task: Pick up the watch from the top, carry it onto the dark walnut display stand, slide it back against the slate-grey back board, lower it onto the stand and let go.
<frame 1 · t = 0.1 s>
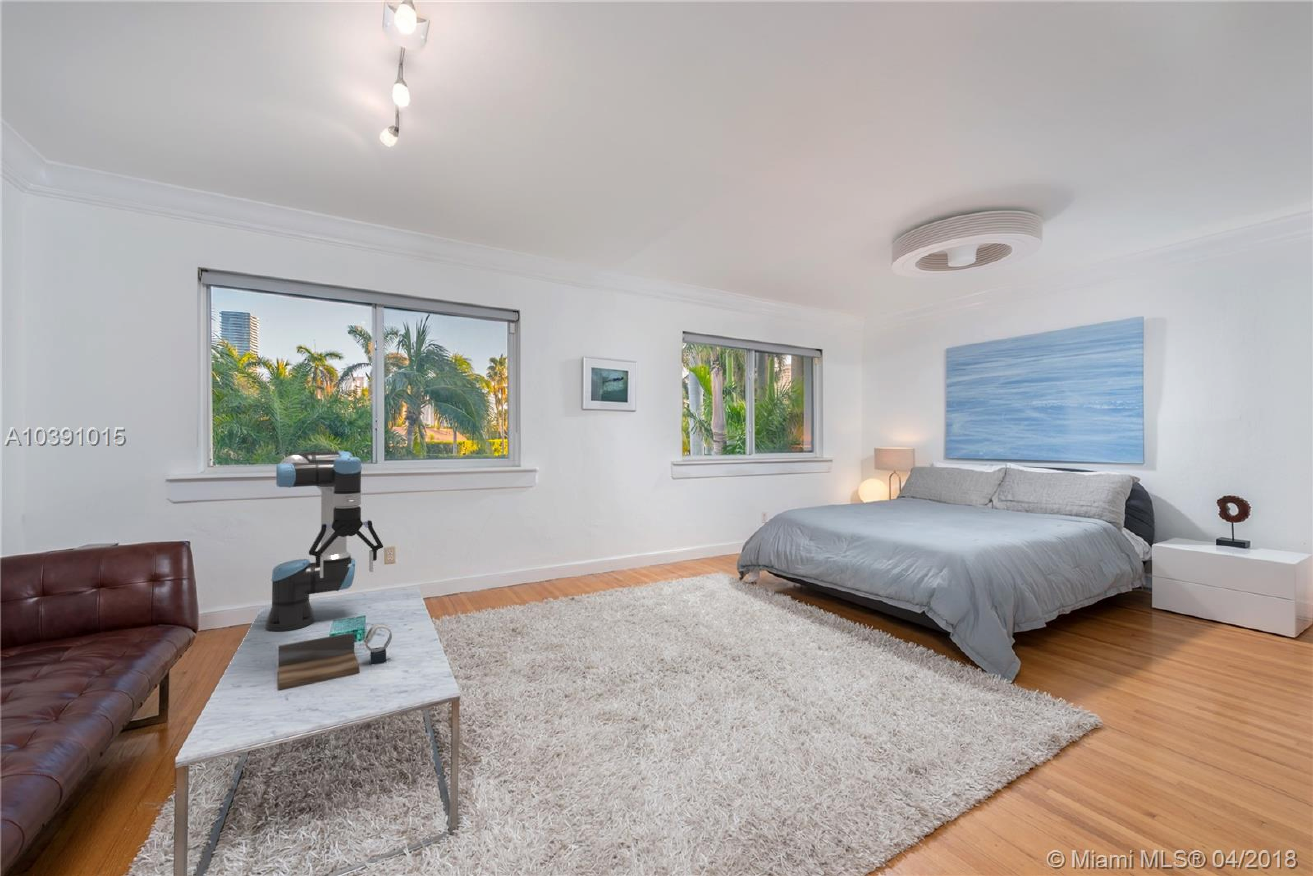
hand: (346, 574, 172), 28 cm above the table, tool pointing down, fingers open, 13 cm apart
display stand: (318, 672, 165), on the table
watch: (377, 661, 174), on the table
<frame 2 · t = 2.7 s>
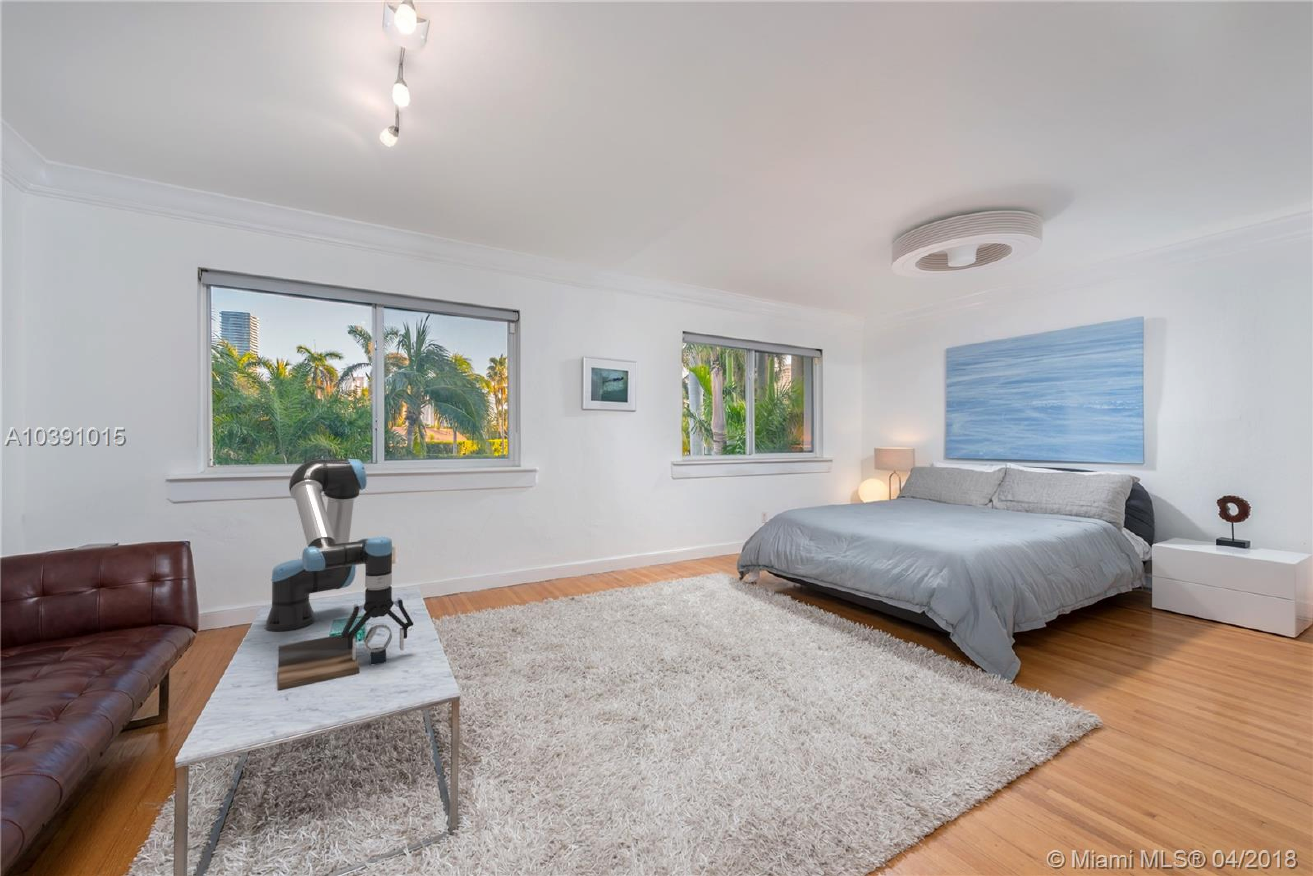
hand: (378, 653, 174), 2 cm above the table, tool pointing down, fingers open, 13 cm apart
nothing on the table moved.
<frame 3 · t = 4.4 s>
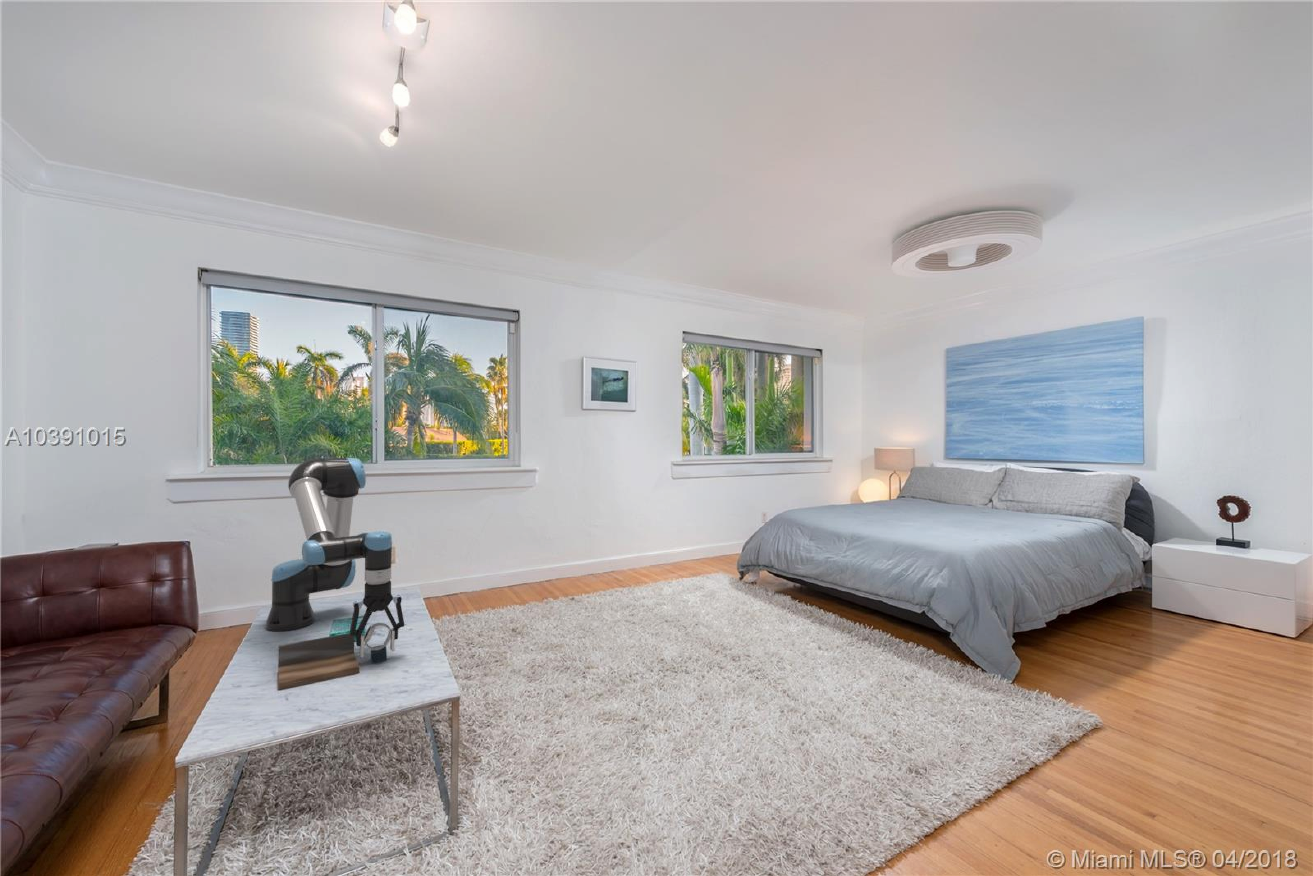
hand: (377, 652, 174), 3 cm above the table, tool pointing down, fingers closed on watch, 8 cm apart
watch: (378, 659, 175), on the table, touching gripper
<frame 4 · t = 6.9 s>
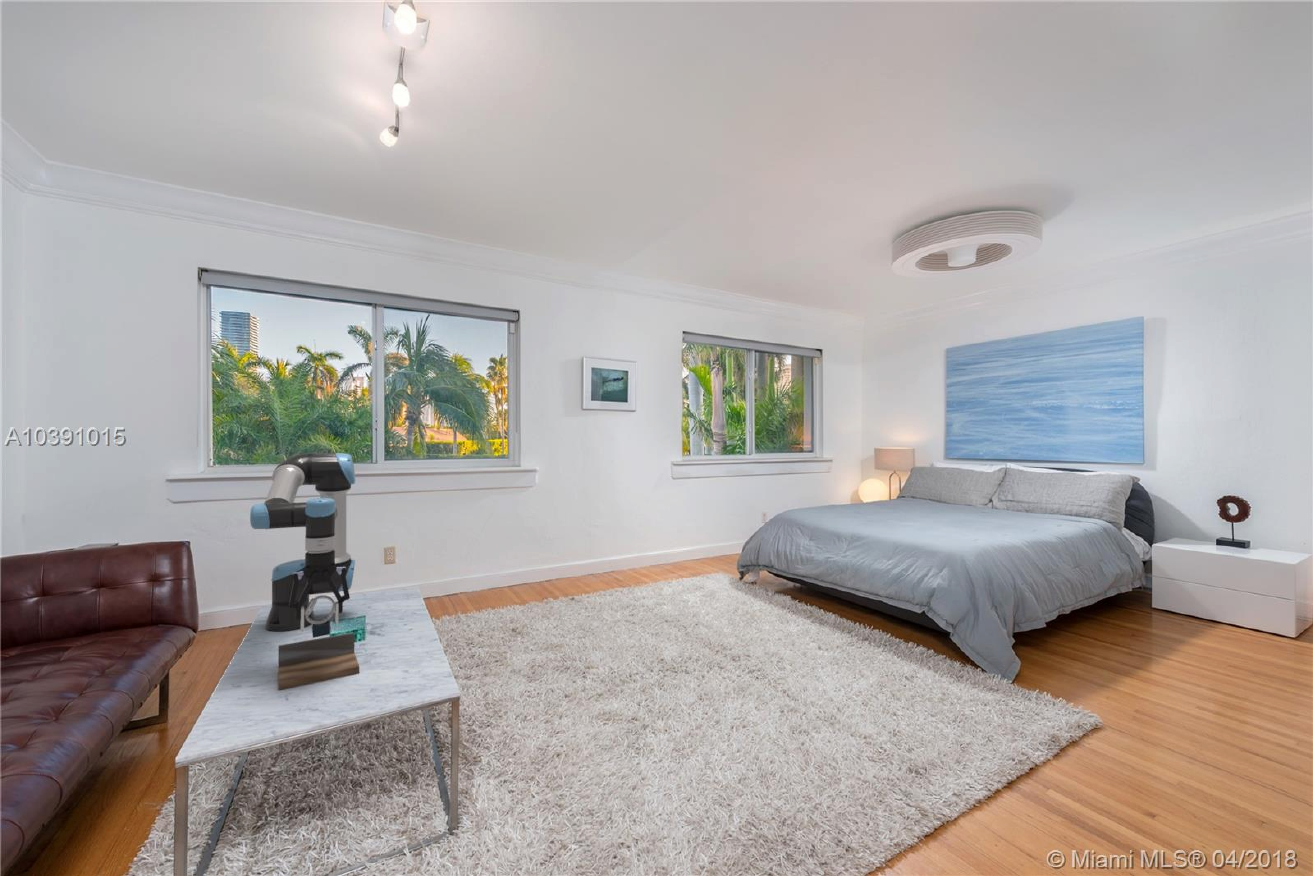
hand: (319, 626, 163), 14 cm above the table, tool pointing down, fingers closed on watch, 8 cm apart
watch: (321, 633, 164), point 12 cm above the table, touching gripper
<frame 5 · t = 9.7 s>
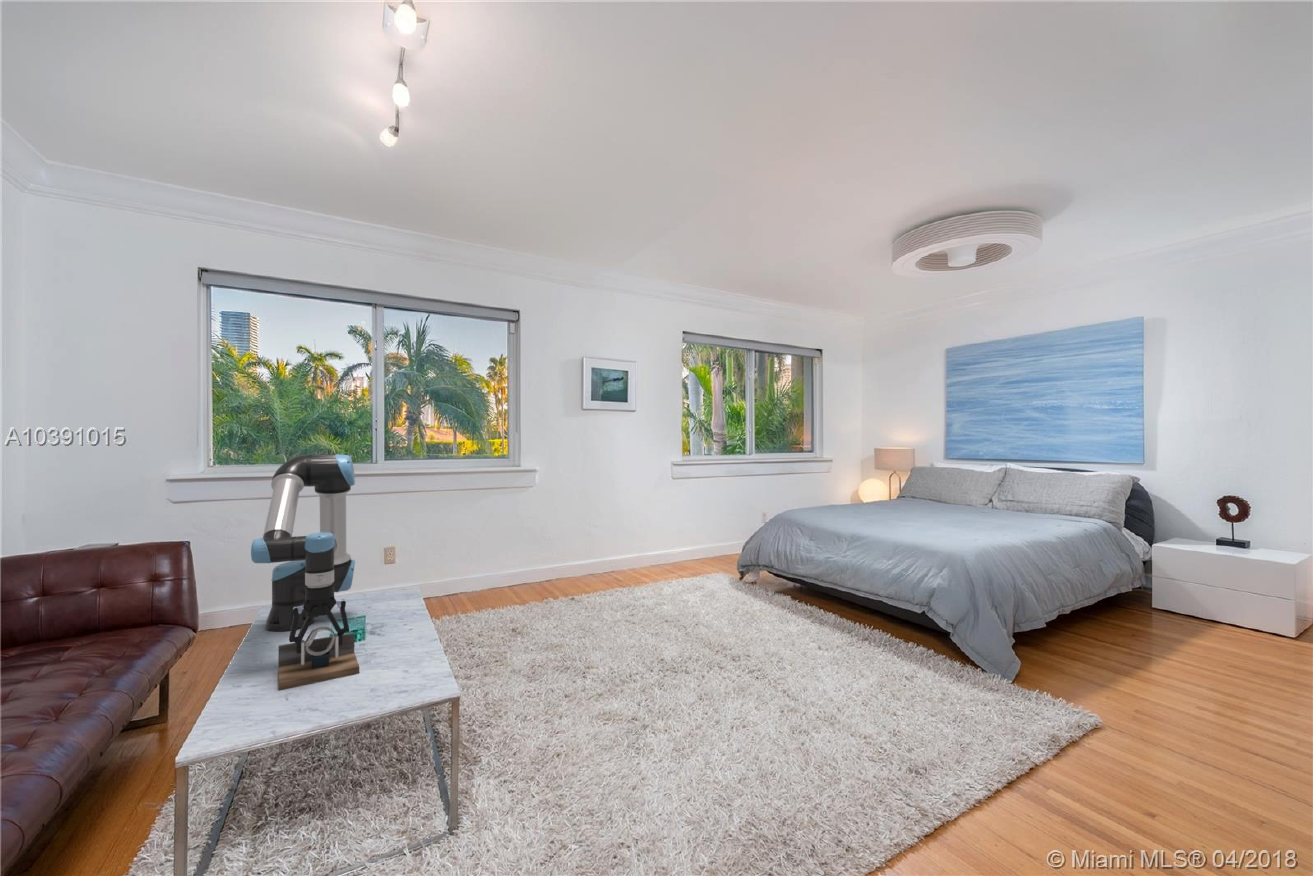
hand: (319, 659, 166), 4 cm above the table, tool pointing down, fingers closed on watch, 8 cm apart
watch: (320, 664, 166), point 2 cm above the table, touching display stand, gripper
when the fingers open (3 cm above the table, at t = 10.4 s): watch stays where it is, resting on display stand.
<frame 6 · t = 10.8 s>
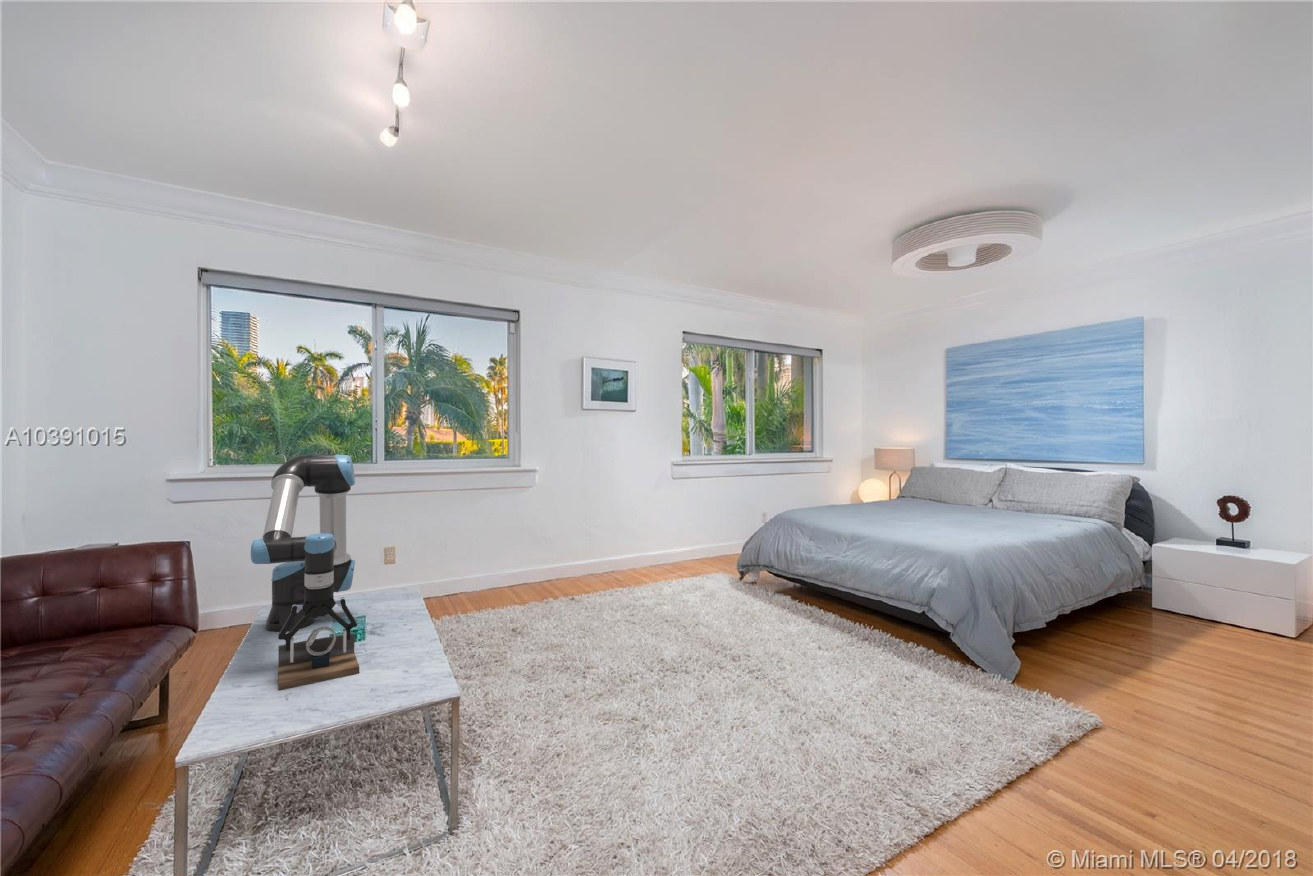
hand: (318, 655, 166), 5 cm above the table, tool pointing down, fingers open, 13 cm apart
watch: (320, 665, 166), point 2 cm above the table, touching display stand
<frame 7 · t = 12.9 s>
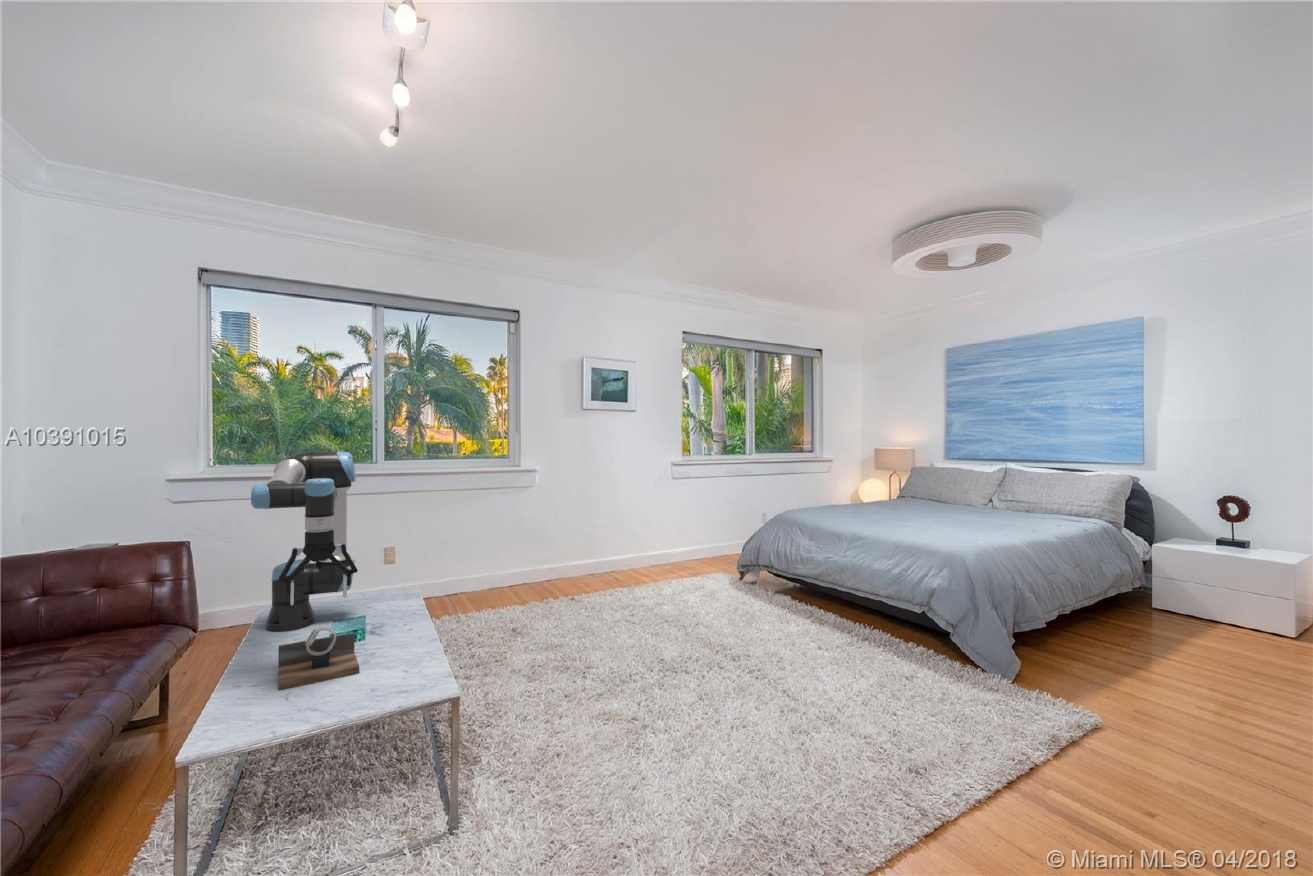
hand: (319, 600, 166), 22 cm above the table, tool pointing down, fingers open, 13 cm apart
nothing on the table moved.
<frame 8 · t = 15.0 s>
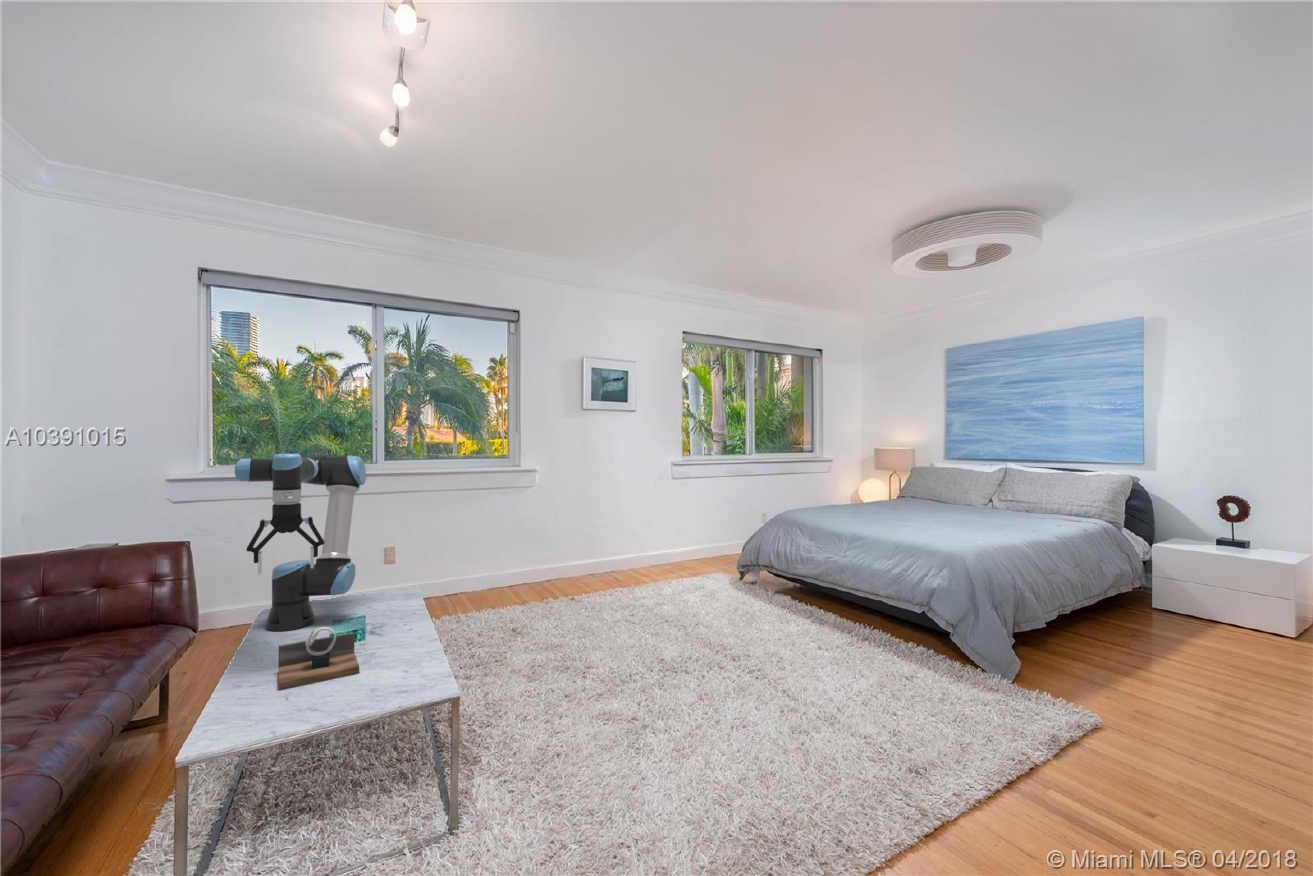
hand: (286, 570, 172), 29 cm above the table, tool pointing down, fingers open, 13 cm apart
nothing on the table moved.
at the end: watch inside the target area on the display stand (0.5 cm from its centre), point 1.8 cm above the display stand's base; watch tilted 0°; the gripper is holding nothing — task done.
